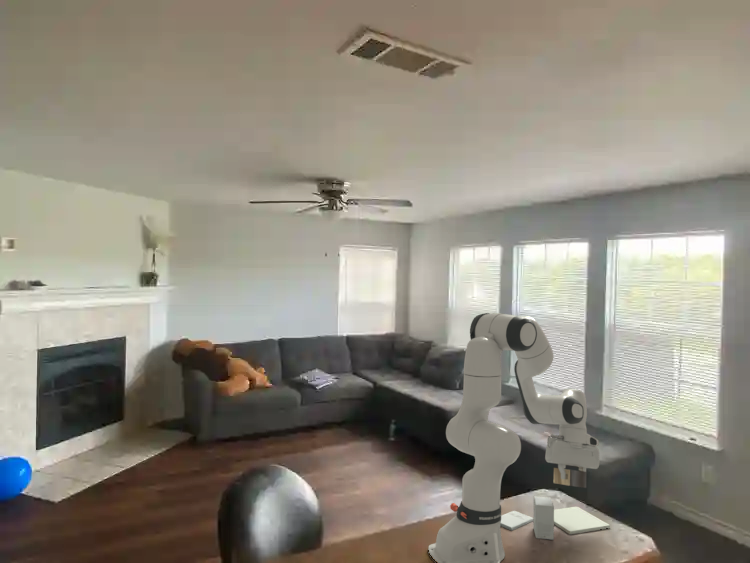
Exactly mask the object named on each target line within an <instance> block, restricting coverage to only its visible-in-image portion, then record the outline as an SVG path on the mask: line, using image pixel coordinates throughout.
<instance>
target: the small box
mask: <svg viewBox="0 0 750 563" xmlns="http://www.w3.org/2000/svg"><path fill="white" fill-rule="evenodd" d="M554 510H555V506H554V503H553V500H552V498H551V497H550V496H537V495H534V496H533V516H532V518H533V521H532V522H533V524H532V525H533V531H534V536H535V539H543V540H552V541H553V540H555V524H554Z"/></svg>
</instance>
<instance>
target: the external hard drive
mask: <svg viewBox="0 0 750 563" xmlns="http://www.w3.org/2000/svg"><path fill="white" fill-rule="evenodd" d="M532 522H533V516H529V515H527V514H524V513H521V512H519V511H518V510H517V511H516V510H512V511H509V512H507V513H504V514H501V522H500V527H502V528H505V529H507V530H509V531H514V530H516V529H519V528H521V527H522V526H525V525H527V524H530V523H532Z"/></svg>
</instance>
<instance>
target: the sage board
mask: <svg viewBox="0 0 750 563" xmlns="http://www.w3.org/2000/svg"><path fill="white" fill-rule="evenodd" d="M554 526H556V527H558V528H560V530H562V531H564V532H565V533H567V534H568V535H577V534H581V533H587V532H594V531H601V530H600V529H602V530H607V529H606V528H608V529H610V528H611V524H609V523H607V522H606V521H604V520H601V519H600V518H598V517H596V516H595V515H593V514H591V513H589V512H588V511H586V510H584V509H582V508H580V507H579V506H571V507H569V506H568V507H563V508H556V509H555V508H554Z"/></svg>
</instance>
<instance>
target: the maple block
mask: <svg viewBox="0 0 750 563" xmlns="http://www.w3.org/2000/svg"><path fill="white" fill-rule="evenodd" d="M564 469H565V472H566V474H568V479H567V480H566V479H561V473H560V471H559V468H558V467H553V484H557V485H563V486H568V487H569V486H570V487H576V488H584V489H587V471H586V472H583V471H580V470H575V469H567V468H564Z"/></svg>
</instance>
